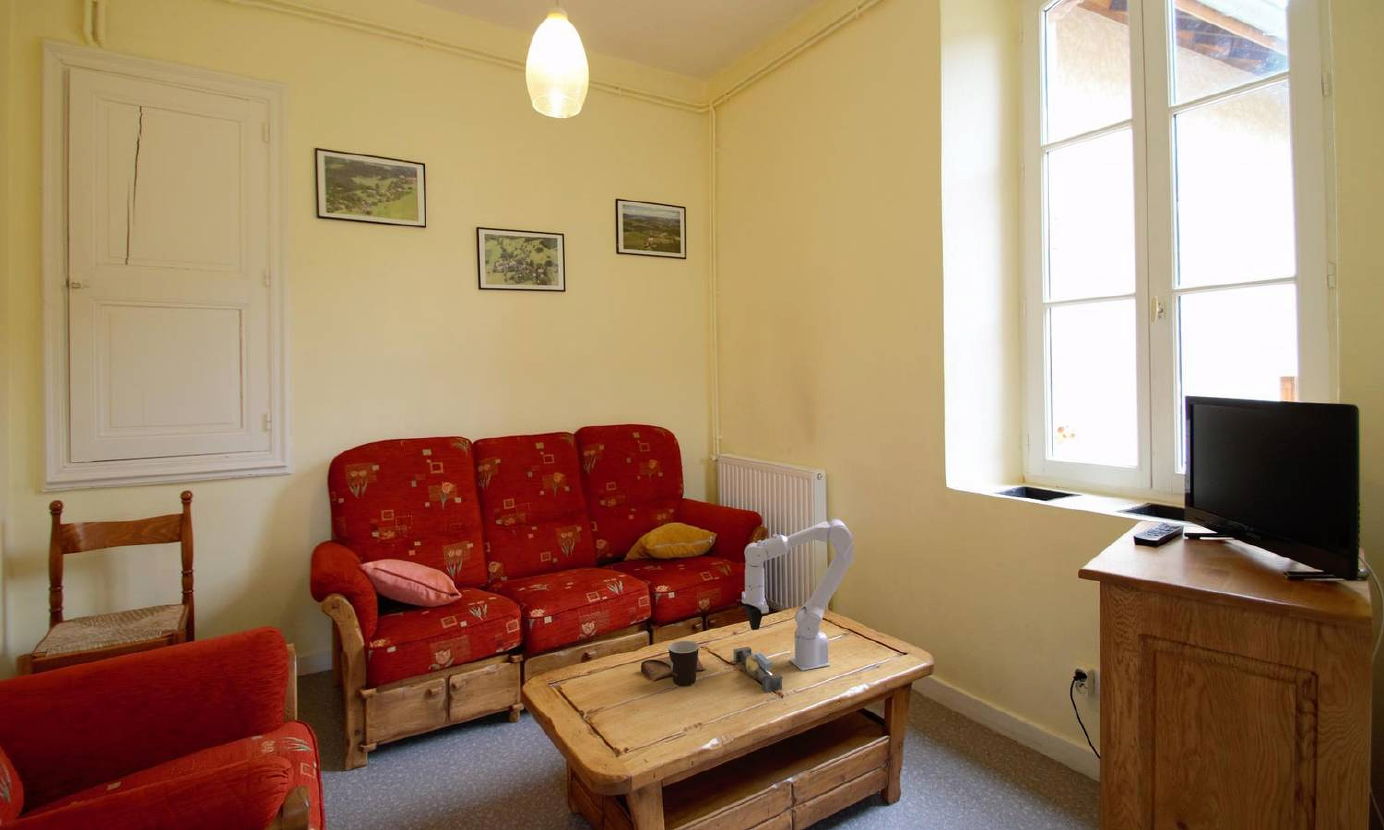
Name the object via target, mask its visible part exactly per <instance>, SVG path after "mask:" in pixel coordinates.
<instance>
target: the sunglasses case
mask: <svg viewBox="0 0 1384 830" xmlns="http://www.w3.org/2000/svg"><path fill="white" fill-rule="evenodd" d="M703 671H707V669H706V668H704V666H703V664H702V663H701V661H700V658H699V657H698V661H697V671H696V673H699V672H703ZM640 672H641V673H642V674H643V675H644V676H645V677H646V678H647V679H648V680H649V681H651V683H654V682H658V681H662V680H665V679H669V678H670V679H671V678H672V671H671V663H670V656H669V655H668V656H663V657H660V658H656V659H647V660H646V659H645V660H643V661H642V663H641V664H640Z"/></svg>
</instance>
